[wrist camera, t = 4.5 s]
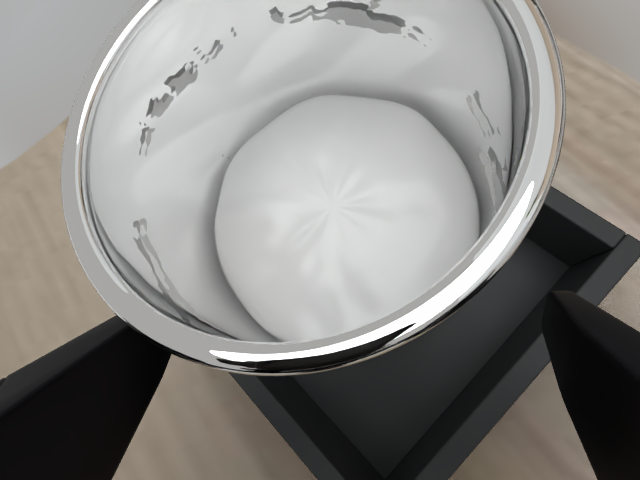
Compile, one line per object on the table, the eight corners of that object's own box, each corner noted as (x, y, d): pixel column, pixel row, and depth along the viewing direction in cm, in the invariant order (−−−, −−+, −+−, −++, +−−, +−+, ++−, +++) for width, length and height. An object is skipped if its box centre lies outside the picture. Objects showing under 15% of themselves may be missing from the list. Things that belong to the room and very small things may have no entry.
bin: (592, 267, 17) (649, 246, 13) (387, 503, 16) (381, 558, 12) (362, 111, 22) (353, 61, 18) (198, 289, 21) (151, 279, 17)
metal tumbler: (400, 193, 19) (393, -183, 5) (469, 310, 17) (776, 199, 3) (288, 250, 20) (14, 51, 6) (341, 371, 18) (102, 512, 4)
